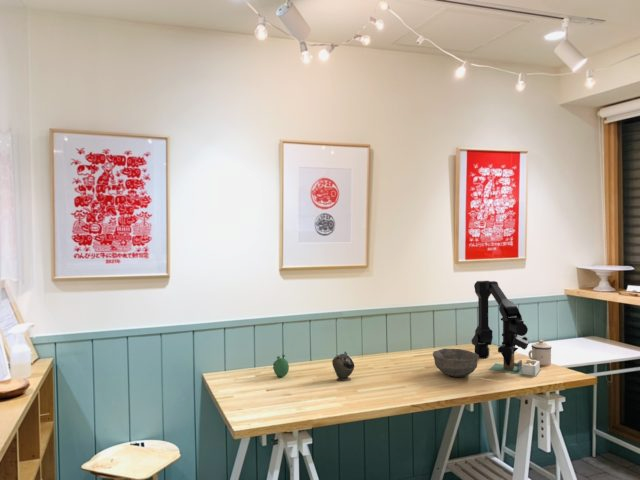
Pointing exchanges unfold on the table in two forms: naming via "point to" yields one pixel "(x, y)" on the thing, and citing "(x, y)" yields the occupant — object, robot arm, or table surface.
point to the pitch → (501, 369)
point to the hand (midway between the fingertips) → (509, 364)
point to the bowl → (455, 361)
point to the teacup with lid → (541, 352)
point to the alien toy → (281, 366)
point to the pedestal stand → (513, 364)
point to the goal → (531, 367)
